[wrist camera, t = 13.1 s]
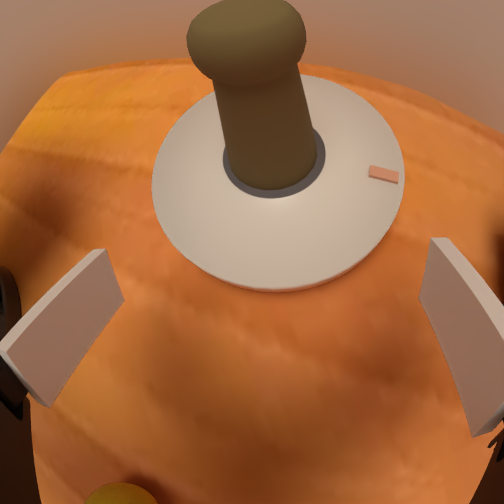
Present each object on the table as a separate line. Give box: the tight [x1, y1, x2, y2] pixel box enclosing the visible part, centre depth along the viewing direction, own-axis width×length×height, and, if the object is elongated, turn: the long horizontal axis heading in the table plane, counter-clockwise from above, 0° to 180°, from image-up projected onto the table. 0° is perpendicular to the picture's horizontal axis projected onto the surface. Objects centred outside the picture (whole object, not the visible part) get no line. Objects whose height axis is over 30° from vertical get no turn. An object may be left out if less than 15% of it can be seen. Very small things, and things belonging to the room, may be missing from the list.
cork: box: [187, 0, 317, 190], centre depth 14 cm, size 6×6×11 cm
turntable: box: [152, 74, 405, 293], centre depth 20 cm, size 18×18×2 cm
